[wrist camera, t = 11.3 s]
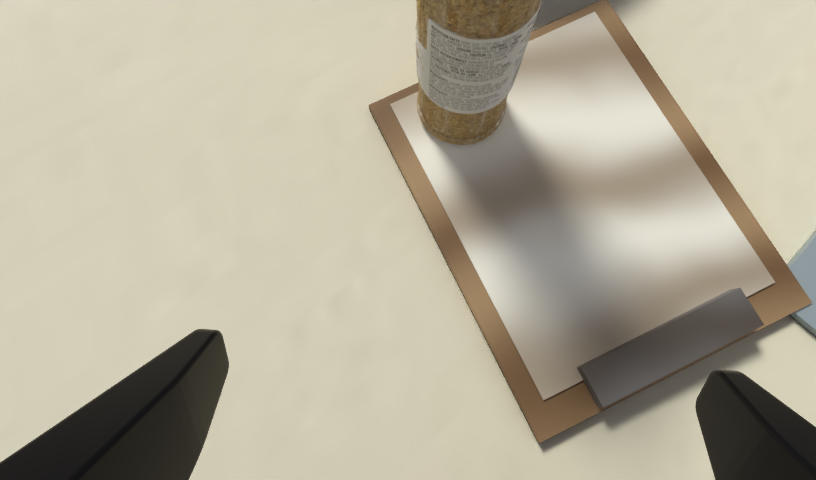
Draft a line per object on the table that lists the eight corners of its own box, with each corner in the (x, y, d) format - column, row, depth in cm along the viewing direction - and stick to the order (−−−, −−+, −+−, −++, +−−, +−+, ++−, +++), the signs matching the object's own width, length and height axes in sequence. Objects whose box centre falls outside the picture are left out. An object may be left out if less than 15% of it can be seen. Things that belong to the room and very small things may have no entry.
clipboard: (803, 303, 22) (827, 301, 21) (536, 440, 21) (544, 446, 20) (602, 4, 26) (611, -13, 25) (369, 109, 25) (366, 97, 24)
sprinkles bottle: (435, 56, 25) (447, -271, 12) (518, 84, 24) (628, -225, 11) (402, 131, 24) (375, -131, 11) (487, 162, 23) (568, -74, 10)
